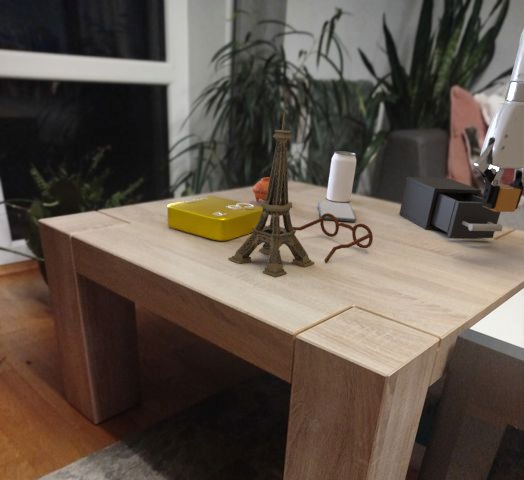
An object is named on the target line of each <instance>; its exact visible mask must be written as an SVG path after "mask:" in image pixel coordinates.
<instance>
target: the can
mask: <svg viewBox="0 0 524 480" xmlns="http://www.w3.org/2000/svg"><path fill="white" fill-rule="evenodd" d="M356 155H357V153H355V152H350V151H341V150H338V151H334V154H333V155H332V157H331V162H330V168H329V174H328V175H329V177H328V183H327V191H326V199H327V201H328V202H337V203H349V202H350V201H351V200H352V192H353V188H354V187H353V186H354V180H355V175H356V174H355V173H356V168H357V158H356V157H357V156H356Z"/></svg>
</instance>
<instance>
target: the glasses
mask: <svg viewBox="0 0 524 480" xmlns="http://www.w3.org/2000/svg"><path fill="white" fill-rule="evenodd" d="M326 216H328V217H331V218H332V219H333V220H332V221H333V222H334V225H335V230H334V233H331V232H328V231H327V230H326V228H325V225H324V224H325V223H324V221H325V219H324V218H325V217H326ZM319 223H320V228H321V231H322V232H323V234H324V235H326V236H327V237H330V238H333V237H336V236H337V235H338V233H339V229H340V227H343V228H346V229H349V230H350V231H351V235H352V240H353V241H351V242H349V243H346V244H339V245H336V246H332V249H330V251H329V252H328V254H327V255H326V257H325V258H324V259H323V261H324V263H326V264H328V262H329V261H330V259H331V258H332V256H333V255H334V254H335V252H336V251H338V250H341V249H350V248H351V247H354V246H355V245H356V246H357V247H359V248H361V249H368V248H370V247H371V246H372V244H373V241H374V237H373V232H372V230H371V228H370V227H369V226H368V225H367V224H364V223H357V224H355V225H354V226H352V225H351V224H348V223H345V222H340V221H339V220H337V219H336V217H335V216H334V215H332V214H330V213H326V214H324V215H322V217H321V218H320V217H319V218H317V219H315V220H312V221H311V222H308V223H306V224H303V225H301V226H299V227H298V226H293V229H294V230H296V231H298V232H299V231H303V230H305V229H308V228H309V227H312V226H314V225H316V224H319ZM358 228H363V229H364V230H366V231H367V234H365V235H363V236H361V237H359V238H357V237H356V234H357V233H356V232H357V229H358ZM365 240H368V242H367V243H366V244H362V242H364V241H365Z"/></svg>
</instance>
